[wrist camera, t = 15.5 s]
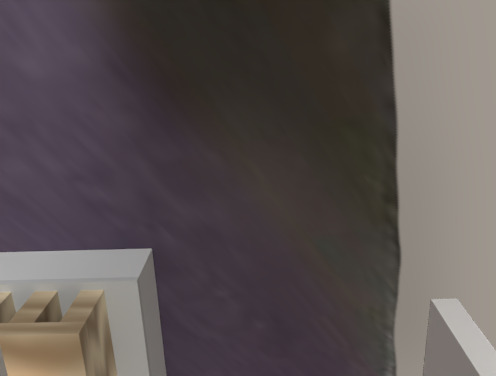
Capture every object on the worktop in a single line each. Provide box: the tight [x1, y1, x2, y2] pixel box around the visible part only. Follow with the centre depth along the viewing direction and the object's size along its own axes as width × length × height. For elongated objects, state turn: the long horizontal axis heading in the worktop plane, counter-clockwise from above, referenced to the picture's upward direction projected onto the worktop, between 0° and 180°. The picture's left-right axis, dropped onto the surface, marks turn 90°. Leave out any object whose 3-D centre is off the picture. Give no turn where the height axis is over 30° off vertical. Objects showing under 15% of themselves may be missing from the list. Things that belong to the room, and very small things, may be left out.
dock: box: [0, 249, 167, 376], centre depth 45 cm, size 16×16×6 cm
